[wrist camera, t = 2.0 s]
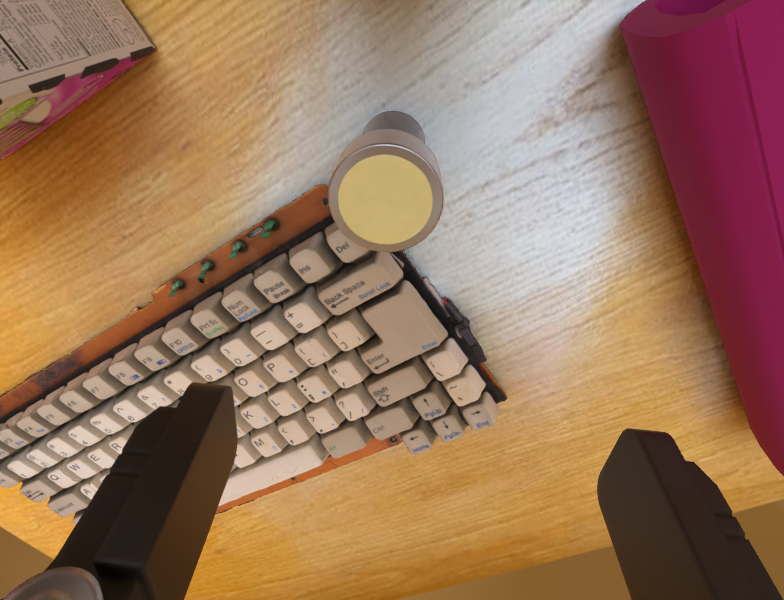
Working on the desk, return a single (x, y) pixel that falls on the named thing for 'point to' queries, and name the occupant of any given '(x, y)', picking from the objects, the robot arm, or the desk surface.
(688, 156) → the book
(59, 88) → the candy bar box
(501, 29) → the desk surface
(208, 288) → the mechanical keyboard
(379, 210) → the torch
